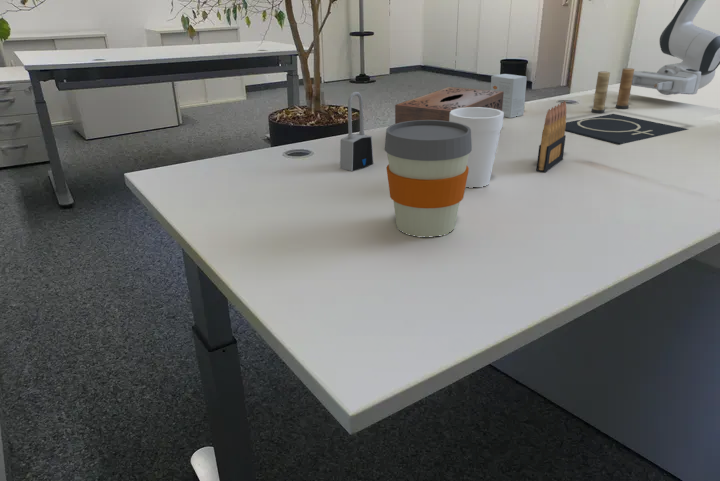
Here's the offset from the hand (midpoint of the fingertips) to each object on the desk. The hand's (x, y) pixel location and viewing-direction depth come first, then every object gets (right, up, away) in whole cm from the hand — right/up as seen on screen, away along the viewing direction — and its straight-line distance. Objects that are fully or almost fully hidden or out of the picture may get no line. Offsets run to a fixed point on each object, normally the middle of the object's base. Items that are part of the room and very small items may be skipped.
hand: (641, 84), depth 159 cm
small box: (-41, -10, -5) cm, 42 cm away
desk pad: (-17, -18, -23) cm, 33 cm away
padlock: (-82, -30, -45) cm, 98 cm away
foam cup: (-61, -35, -56) cm, 90 cm away
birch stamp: (-15, -9, -5) cm, 18 cm away
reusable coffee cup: (-71, -43, -74) cm, 111 cm away
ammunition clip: (-43, -30, -48) cm, 71 cm away
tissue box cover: (-60, -22, -29) cm, 70 cm away
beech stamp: (-6, -7, 0) cm, 9 cm away
